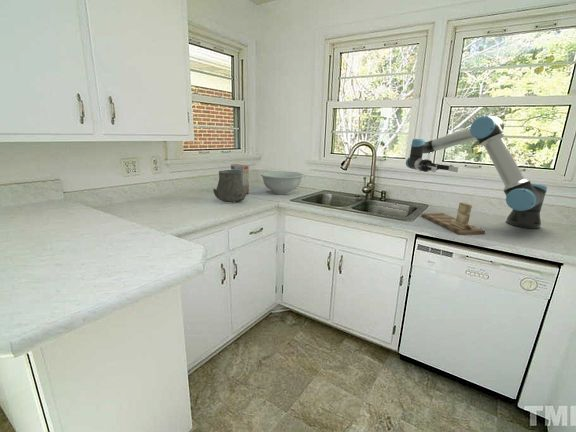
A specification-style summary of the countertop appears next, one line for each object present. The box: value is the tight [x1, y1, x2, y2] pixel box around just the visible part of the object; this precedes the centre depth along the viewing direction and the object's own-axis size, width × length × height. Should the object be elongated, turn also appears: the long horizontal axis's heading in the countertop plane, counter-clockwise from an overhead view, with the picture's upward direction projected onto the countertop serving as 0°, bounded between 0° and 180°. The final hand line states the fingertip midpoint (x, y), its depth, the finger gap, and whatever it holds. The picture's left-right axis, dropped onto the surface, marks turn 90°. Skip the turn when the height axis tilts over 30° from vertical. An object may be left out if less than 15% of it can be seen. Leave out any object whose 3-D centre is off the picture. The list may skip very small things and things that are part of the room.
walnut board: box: [420, 212, 486, 236], centre depth 158 cm, size 32×14×2 cm, turn 9°
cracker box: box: [230, 163, 250, 195], centre depth 216 cm, size 14×6×21 cm, turn 49°
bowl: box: [260, 170, 304, 195], centre depth 222 cm, size 32×32×15 cm
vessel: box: [212, 169, 247, 203], centre depth 190 cm, size 22×22×20 cm
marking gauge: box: [451, 202, 474, 229], centre depth 148 cm, size 5×11×12 cm, turn 9°
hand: (446, 169), depth 163 cm, fingers open, 13 cm apart
